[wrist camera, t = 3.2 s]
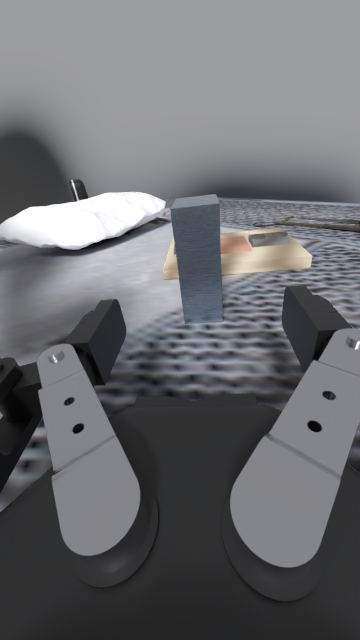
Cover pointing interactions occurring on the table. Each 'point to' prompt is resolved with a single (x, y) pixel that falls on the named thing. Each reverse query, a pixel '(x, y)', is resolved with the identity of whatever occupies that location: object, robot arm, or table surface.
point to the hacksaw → (349, 228)
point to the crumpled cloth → (81, 220)
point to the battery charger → (78, 190)
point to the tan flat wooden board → (251, 253)
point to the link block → (198, 257)
